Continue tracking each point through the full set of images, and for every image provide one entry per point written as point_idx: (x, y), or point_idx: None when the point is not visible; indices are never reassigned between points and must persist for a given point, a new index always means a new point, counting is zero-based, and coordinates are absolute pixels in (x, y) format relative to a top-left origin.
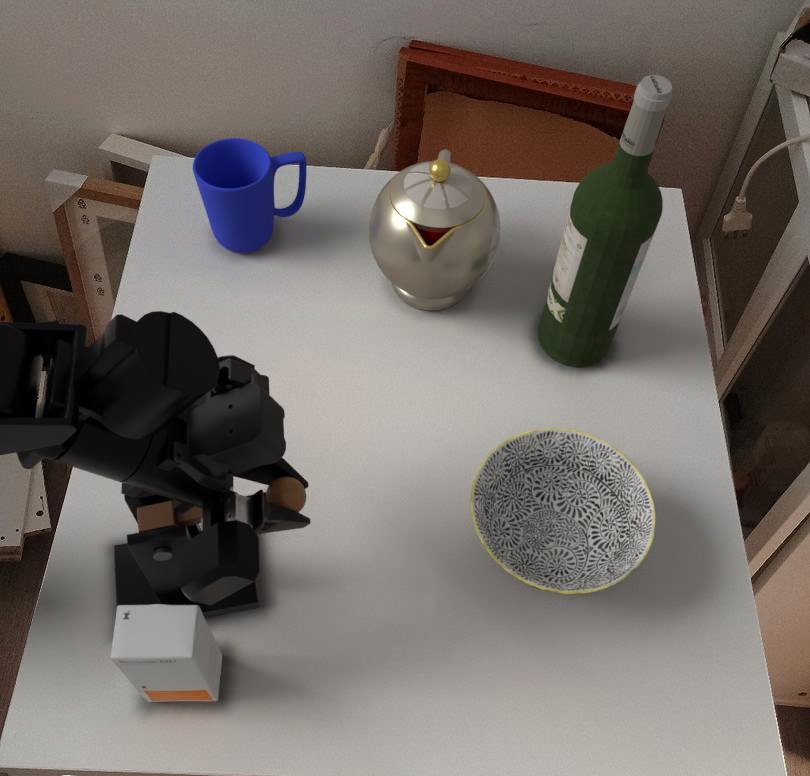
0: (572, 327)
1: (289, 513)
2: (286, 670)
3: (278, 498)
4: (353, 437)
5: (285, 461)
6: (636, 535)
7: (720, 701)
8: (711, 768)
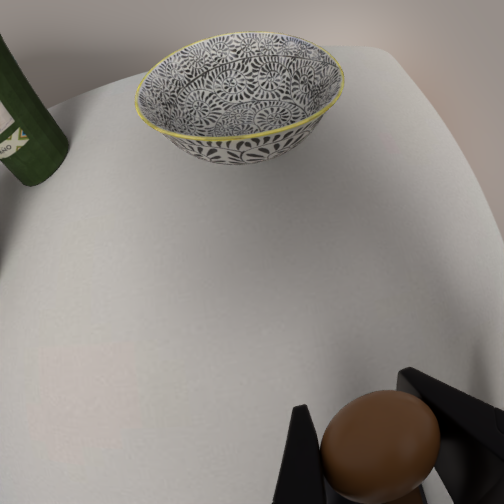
0: (35, 129)
1: (462, 409)
2: (462, 373)
3: (431, 459)
4: (120, 362)
5: (281, 486)
6: (252, 49)
7: (347, 57)
8: (390, 65)
